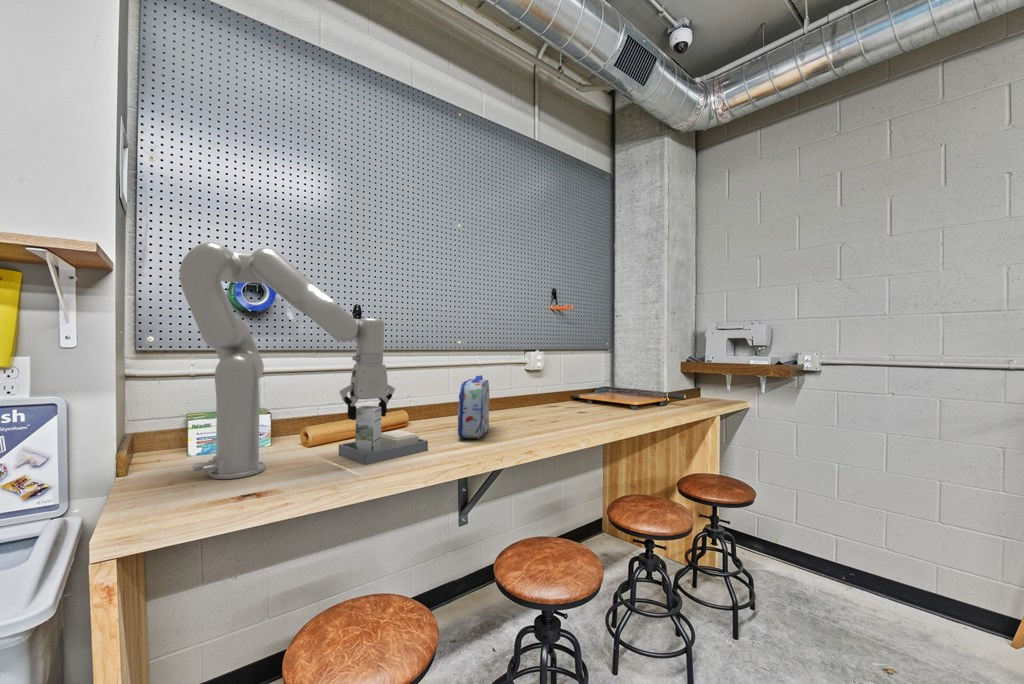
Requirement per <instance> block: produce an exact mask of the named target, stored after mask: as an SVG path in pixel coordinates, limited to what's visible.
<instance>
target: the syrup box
mask: <svg viewBox="0 0 1024 684" xmlns="http://www.w3.org/2000/svg"><path fill="white" fill-rule="evenodd" d="M354 430H355V434H354V435H355V437H354V438H355V440H354V442H355V449H356V450H359V451H362V452H365V453H370V452H374V451H379V450H381V433H382V416H381V406H379V405H378V406H376V405H374V406H373V405H372V406H371V405H370V406H369V405H362V406H359V407H356V419H355V429H354Z"/></svg>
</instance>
